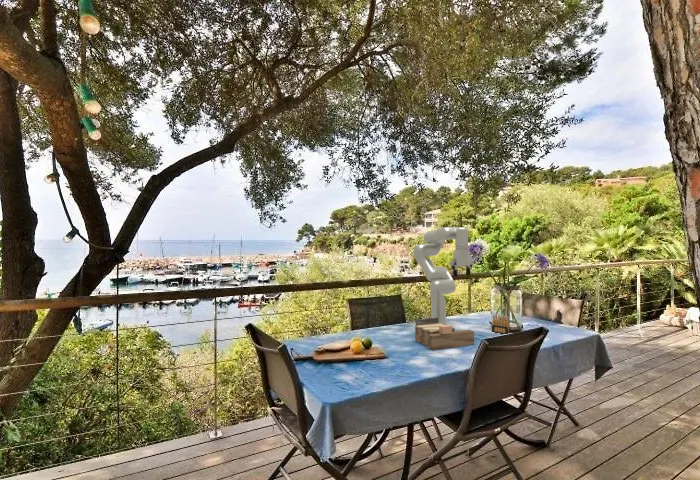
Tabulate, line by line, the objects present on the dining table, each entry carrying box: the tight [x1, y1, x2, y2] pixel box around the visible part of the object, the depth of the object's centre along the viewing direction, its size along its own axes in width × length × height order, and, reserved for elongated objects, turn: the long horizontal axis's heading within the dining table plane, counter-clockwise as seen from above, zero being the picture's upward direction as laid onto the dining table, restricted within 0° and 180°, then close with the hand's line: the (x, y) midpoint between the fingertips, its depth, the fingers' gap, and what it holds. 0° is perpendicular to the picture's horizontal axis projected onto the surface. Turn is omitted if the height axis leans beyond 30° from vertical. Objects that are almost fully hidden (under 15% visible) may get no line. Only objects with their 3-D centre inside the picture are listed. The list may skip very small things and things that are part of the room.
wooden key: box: [439, 324, 453, 334], centre depth 241 cm, size 4×6×4 cm, turn 114°
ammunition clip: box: [491, 313, 510, 336], centre depth 271 cm, size 11×2×12 cm, turn 45°
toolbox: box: [414, 326, 475, 351], centre depth 250 cm, size 21×28×8 cm
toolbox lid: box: [414, 317, 456, 333], centre depth 251 cm, size 16×16×4 cm
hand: (461, 275), depth 265 cm, fingers open, 9 cm apart
